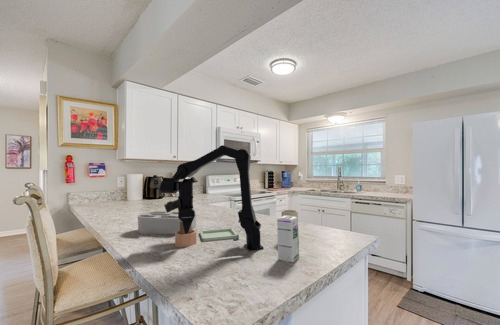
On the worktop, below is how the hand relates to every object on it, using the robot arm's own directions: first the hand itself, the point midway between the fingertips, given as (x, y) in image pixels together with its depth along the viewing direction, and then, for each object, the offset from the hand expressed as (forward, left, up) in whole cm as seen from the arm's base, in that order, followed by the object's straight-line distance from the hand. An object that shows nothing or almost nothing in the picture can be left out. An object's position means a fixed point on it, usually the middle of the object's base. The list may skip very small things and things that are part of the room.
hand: (185, 230), depth 96 cm
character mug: (-9, -44, -6) cm, 45 cm away
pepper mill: (0, 0, -5) cm, 5 cm away
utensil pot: (0, 0, -6) cm, 6 cm away
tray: (+7, -15, -6) cm, 18 cm away
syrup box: (-27, -34, -6) cm, 44 cm away
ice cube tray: (+28, +10, -6) cm, 30 cm away
